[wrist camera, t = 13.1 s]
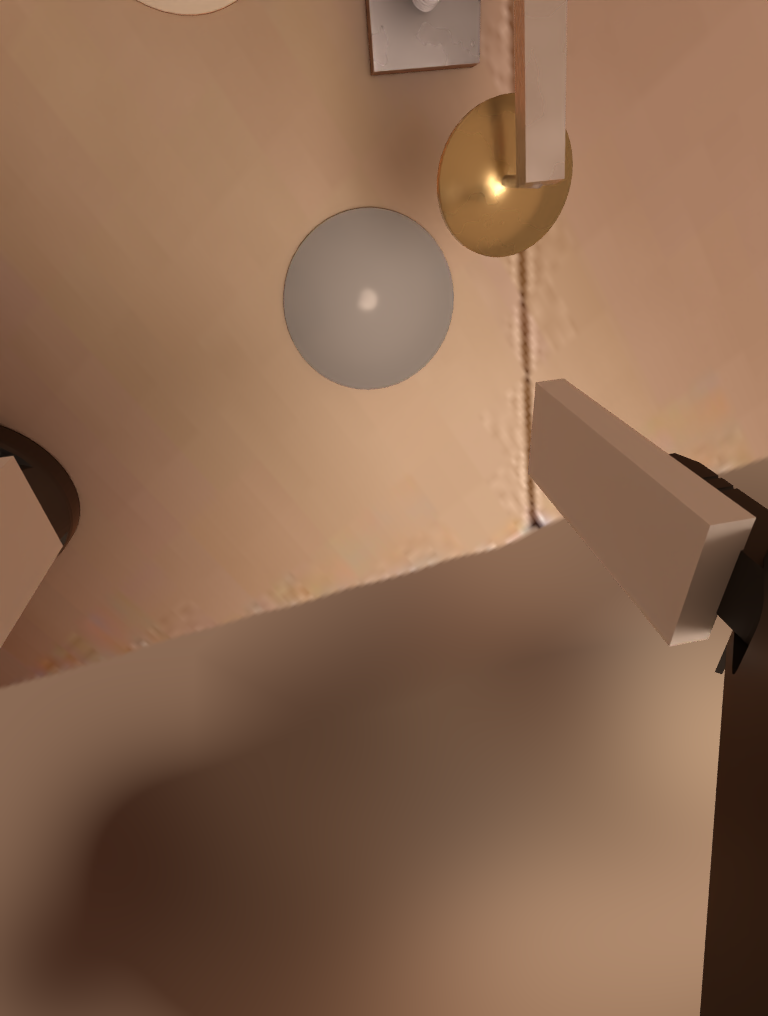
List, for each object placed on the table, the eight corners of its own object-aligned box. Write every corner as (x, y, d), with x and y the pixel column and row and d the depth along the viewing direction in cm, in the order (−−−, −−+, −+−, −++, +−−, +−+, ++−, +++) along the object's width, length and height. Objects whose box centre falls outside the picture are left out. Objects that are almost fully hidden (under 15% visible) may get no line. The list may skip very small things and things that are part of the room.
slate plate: (300, 398, 45) (300, 399, 45) (266, 217, 37) (266, 218, 37) (453, 377, 46) (454, 378, 46) (452, 198, 38) (453, 198, 38)
